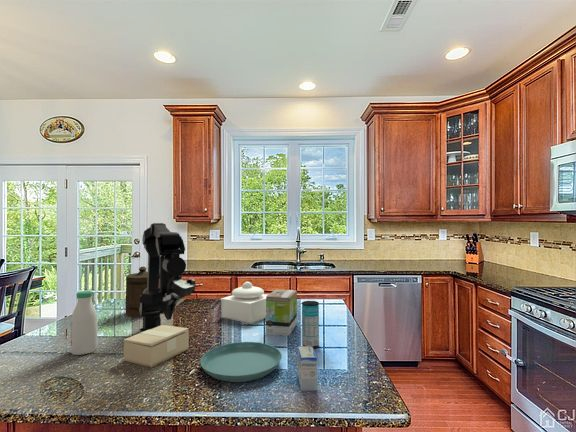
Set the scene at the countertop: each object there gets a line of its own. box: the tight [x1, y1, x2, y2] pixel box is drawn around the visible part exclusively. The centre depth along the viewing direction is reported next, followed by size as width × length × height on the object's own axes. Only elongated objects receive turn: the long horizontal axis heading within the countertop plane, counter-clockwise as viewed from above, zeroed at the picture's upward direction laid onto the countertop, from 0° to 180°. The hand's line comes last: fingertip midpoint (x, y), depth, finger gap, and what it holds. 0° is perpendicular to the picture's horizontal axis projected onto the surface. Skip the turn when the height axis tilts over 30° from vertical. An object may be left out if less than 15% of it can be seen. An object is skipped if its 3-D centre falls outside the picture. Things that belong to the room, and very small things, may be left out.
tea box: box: [264, 288, 298, 336], centre depth 136 cm, size 15×10×15 cm, turn 168°
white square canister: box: [220, 281, 269, 325], centre depth 155 cm, size 18×18×16 cm
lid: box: [123, 324, 189, 346], centre depth 110 cm, size 12×16×1 cm
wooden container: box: [124, 266, 148, 317], centre depth 161 cm, size 15×15×22 cm
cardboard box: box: [123, 330, 190, 368], centre depth 110 cm, size 12×16×6 cm
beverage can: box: [301, 300, 320, 349], centre depth 118 cm, size 6×6×15 cm
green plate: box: [200, 341, 283, 383], centre depth 101 cm, size 24×24×3 cm
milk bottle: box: [70, 290, 98, 356], centre depth 114 cm, size 8×8×20 cm
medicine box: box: [296, 346, 318, 392], centre depth 90 cm, size 8×4×9 cm, turn 5°
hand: (168, 319), depth 109 cm, fingers closed
